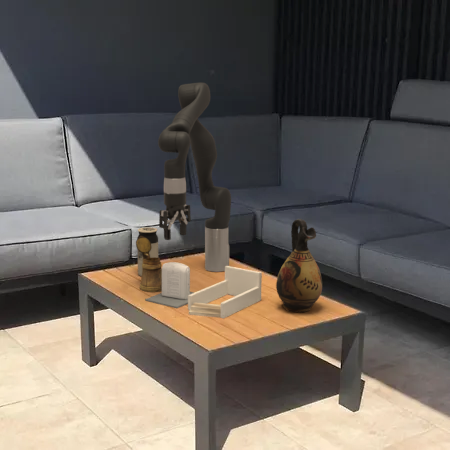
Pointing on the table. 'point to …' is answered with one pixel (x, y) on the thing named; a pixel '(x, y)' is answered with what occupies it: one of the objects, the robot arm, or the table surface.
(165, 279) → the photo printer
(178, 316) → the table surface
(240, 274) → the rack
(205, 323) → the table surface
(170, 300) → the mat
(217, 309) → the offcut stack
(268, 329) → the table surface
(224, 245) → the robot arm
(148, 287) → the wooden mug
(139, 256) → the travel mug
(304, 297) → the ceramic jug
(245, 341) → the table surface
